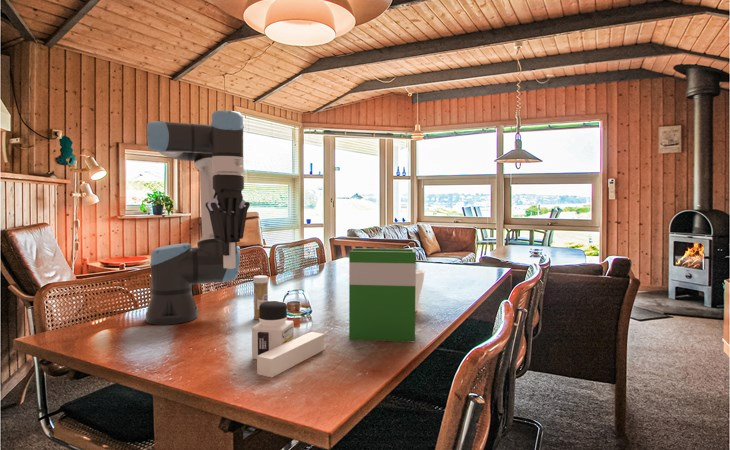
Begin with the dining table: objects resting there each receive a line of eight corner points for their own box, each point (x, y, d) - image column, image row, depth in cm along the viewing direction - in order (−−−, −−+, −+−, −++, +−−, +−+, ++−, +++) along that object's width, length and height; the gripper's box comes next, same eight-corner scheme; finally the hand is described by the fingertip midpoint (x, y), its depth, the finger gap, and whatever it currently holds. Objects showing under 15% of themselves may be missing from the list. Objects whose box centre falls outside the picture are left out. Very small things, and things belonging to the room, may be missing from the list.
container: (282, 362, 104) (281, 306, 103) (251, 359, 105) (250, 305, 105) (294, 351, 111) (294, 299, 110) (265, 348, 113) (265, 297, 112)
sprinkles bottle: (263, 320, 139) (263, 277, 138) (250, 319, 140) (250, 277, 139) (271, 317, 143) (270, 275, 142) (258, 315, 144) (258, 274, 144)
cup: (423, 307, 157) (423, 268, 156) (424, 314, 146) (424, 274, 145) (393, 306, 158) (393, 268, 157) (392, 313, 147) (392, 273, 146)
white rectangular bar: (257, 374, 96) (257, 355, 96) (311, 347, 114) (311, 331, 114) (271, 377, 95) (271, 359, 94) (324, 349, 112) (324, 334, 112)
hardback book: (349, 339, 120) (349, 251, 119) (352, 331, 128) (352, 248, 126) (414, 341, 119) (415, 252, 117) (414, 333, 126) (415, 249, 125)
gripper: (219, 172, 104) (220, 273, 106) (257, 175, 115) (258, 265, 117) (196, 173, 108) (198, 270, 109) (236, 175, 119) (237, 263, 121)
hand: (229, 267), depth 113 cm, fingers closed
